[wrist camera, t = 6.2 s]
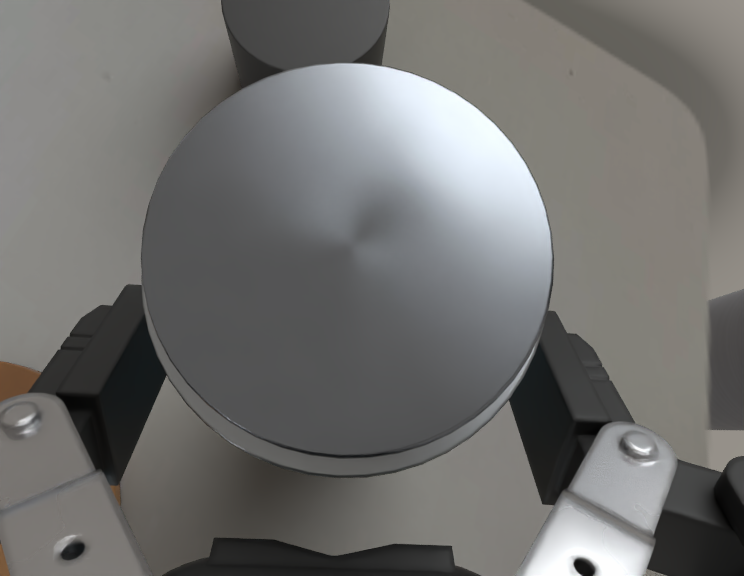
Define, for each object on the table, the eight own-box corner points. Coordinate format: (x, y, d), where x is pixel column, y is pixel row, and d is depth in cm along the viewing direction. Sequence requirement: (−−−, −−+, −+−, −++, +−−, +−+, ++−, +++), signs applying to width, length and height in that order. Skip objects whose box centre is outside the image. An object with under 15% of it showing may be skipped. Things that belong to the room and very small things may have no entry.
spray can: (412, 299, 24) (573, 59, 8) (408, 447, 22) (589, 499, 7) (268, 290, 23) (147, 21, 8) (255, 439, 22) (74, 477, 6)
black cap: (382, 17, 27) (393, -63, 22) (376, 140, 25) (386, 80, 21) (246, 5, 26) (230, -79, 22) (232, 129, 25) (211, 65, 20)
